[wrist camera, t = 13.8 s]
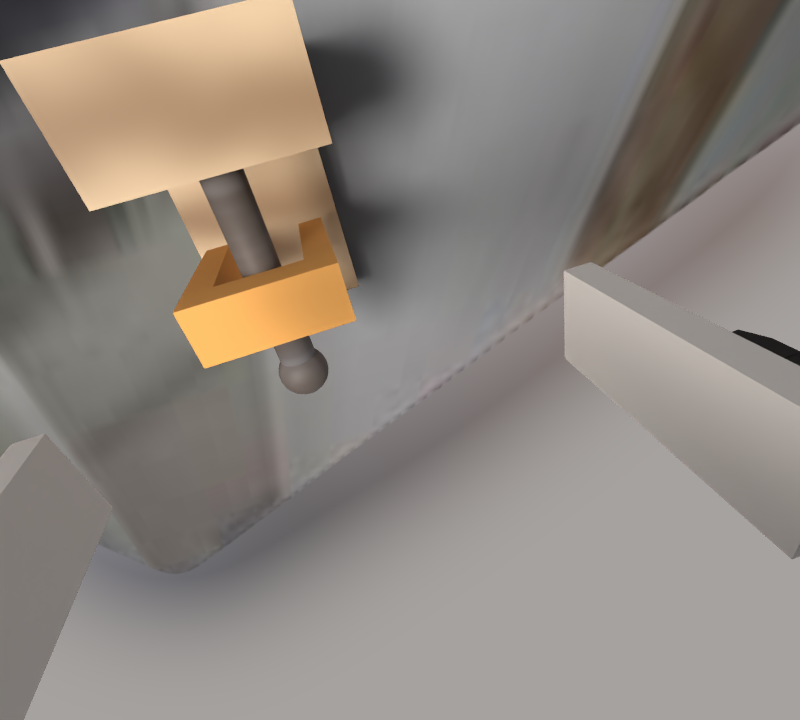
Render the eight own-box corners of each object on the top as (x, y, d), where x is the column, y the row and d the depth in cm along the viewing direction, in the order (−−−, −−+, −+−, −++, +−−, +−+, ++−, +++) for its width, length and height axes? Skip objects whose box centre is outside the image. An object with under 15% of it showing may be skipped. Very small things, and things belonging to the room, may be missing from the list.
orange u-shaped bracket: (206, 250, 27) (172, 312, 19) (320, 217, 28) (337, 262, 19) (226, 293, 29) (204, 368, 20) (334, 260, 29) (356, 320, 21)
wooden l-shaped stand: (125, 84, 26) (-2, 61, 14) (284, 44, 27) (289, -10, 15) (243, 329, 35) (226, 437, 24) (359, 293, 36) (398, 380, 24)
